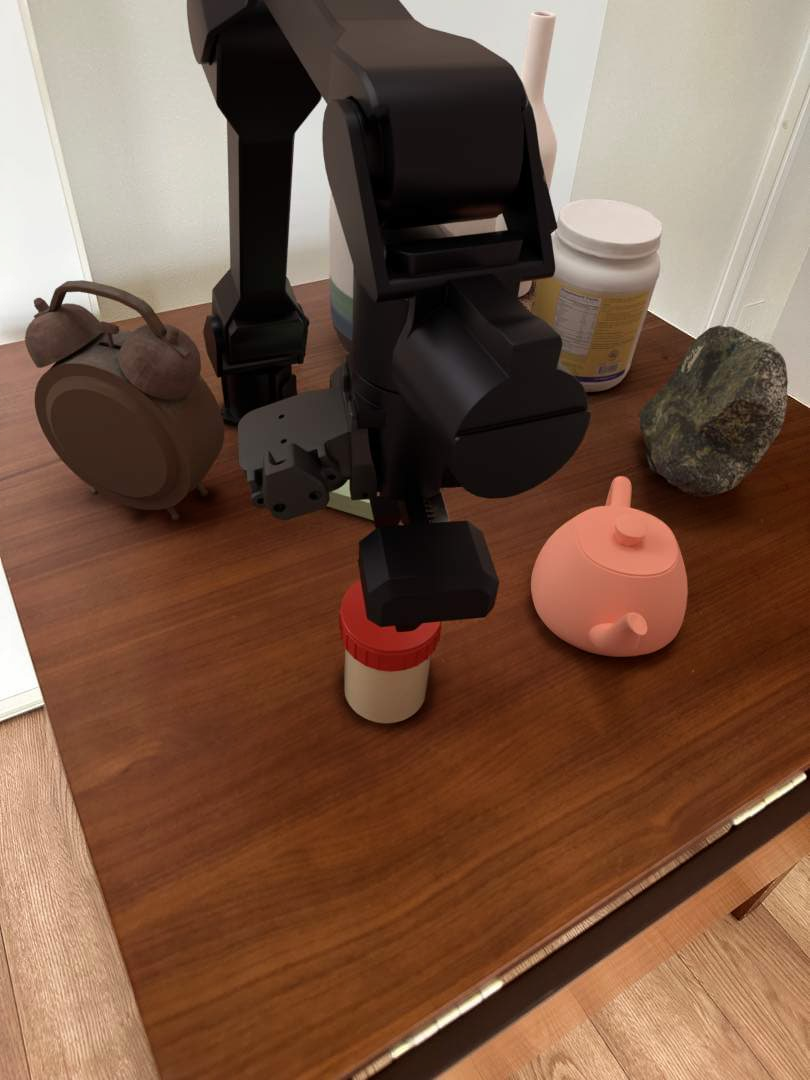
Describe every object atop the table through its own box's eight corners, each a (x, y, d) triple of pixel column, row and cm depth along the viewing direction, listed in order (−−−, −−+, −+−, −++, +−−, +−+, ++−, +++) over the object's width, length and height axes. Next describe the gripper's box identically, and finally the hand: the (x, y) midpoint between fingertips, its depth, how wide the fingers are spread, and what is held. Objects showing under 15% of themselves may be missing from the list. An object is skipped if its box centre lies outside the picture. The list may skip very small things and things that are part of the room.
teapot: (667, 548, 69) (703, 466, 62) (687, 723, 56) (735, 643, 49) (531, 527, 69) (552, 443, 63) (521, 694, 57) (545, 612, 50)
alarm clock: (242, 489, 70) (219, 284, 56) (201, 542, 66) (164, 331, 51) (103, 449, 73) (48, 243, 59) (55, 496, 68) (-19, 284, 54)
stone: (630, 424, 81) (675, 292, 71) (730, 442, 80) (791, 310, 70) (629, 516, 71) (680, 378, 61) (743, 538, 70) (816, 402, 60)
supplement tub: (539, 327, 94) (569, 185, 82) (638, 355, 91) (683, 212, 79) (506, 376, 86) (533, 227, 74) (612, 409, 83) (658, 258, 71)
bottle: (533, 275, 104) (585, 10, 82) (526, 304, 98) (579, 27, 77) (474, 265, 105) (510, 0, 83) (463, 293, 99) (499, 16, 78)
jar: (330, 706, 55) (330, 633, 49) (363, 644, 59) (366, 569, 53) (409, 735, 54) (418, 663, 48) (437, 669, 58) (448, 596, 52)
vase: (388, 295, 97) (399, 82, 80) (503, 344, 91) (542, 122, 74) (299, 350, 87) (290, 118, 70) (421, 408, 81) (444, 169, 64)
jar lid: (323, 652, 50) (322, 630, 49) (362, 581, 55) (363, 559, 53) (420, 686, 49) (423, 665, 47) (452, 611, 53) (456, 589, 52)
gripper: (236, 272, 42) (257, 487, 53) (244, 505, 29) (269, 724, 40) (436, 268, 44) (416, 477, 55) (527, 486, 31) (476, 701, 42)
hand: (394, 578), depth 48 cm, fingers open, 8 cm apart
